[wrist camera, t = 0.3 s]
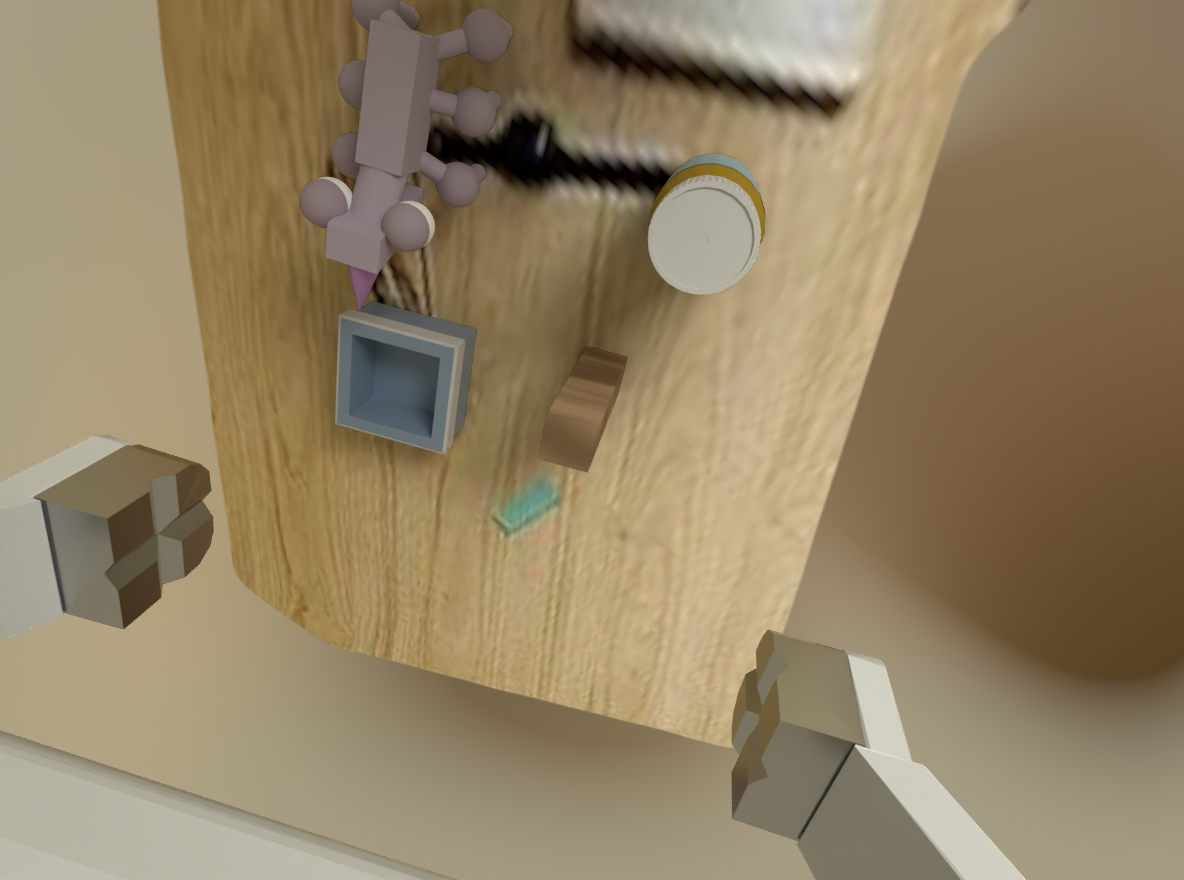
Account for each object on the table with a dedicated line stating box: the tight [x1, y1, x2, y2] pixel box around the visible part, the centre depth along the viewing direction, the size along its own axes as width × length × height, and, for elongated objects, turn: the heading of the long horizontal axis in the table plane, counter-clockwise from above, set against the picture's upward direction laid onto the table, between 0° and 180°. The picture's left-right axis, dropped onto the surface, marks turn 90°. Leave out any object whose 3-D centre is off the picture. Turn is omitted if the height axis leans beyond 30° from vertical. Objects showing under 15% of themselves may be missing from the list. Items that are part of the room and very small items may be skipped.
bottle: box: [647, 154, 765, 295], centre depth 44 cm, size 7×7×15 cm
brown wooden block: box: [538, 346, 627, 473], centre depth 52 cm, size 4×4×14 cm
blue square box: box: [335, 301, 477, 454], centre depth 58 cm, size 10×10×6 cm
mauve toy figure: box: [300, 0, 513, 313], centre depth 46 cm, size 20×11×14 cm, turn 163°
